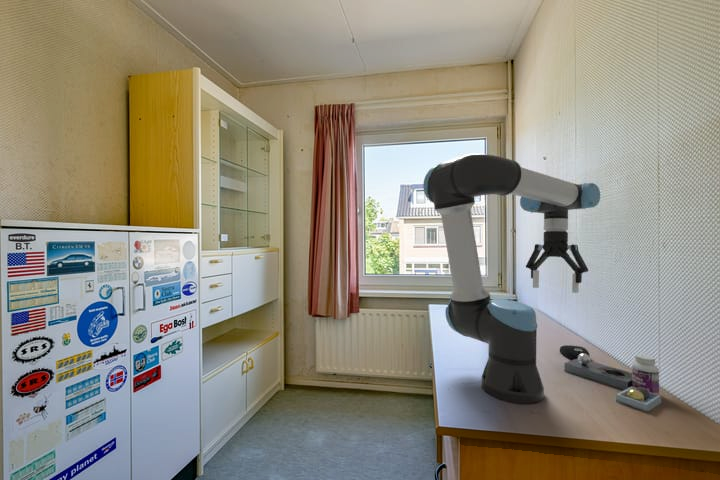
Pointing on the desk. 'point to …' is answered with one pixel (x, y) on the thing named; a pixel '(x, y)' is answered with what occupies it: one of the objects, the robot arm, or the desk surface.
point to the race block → (600, 373)
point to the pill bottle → (645, 373)
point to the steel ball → (584, 358)
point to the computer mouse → (572, 351)
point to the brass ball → (635, 395)
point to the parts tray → (644, 406)
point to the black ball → (643, 392)
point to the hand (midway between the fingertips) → (554, 290)
